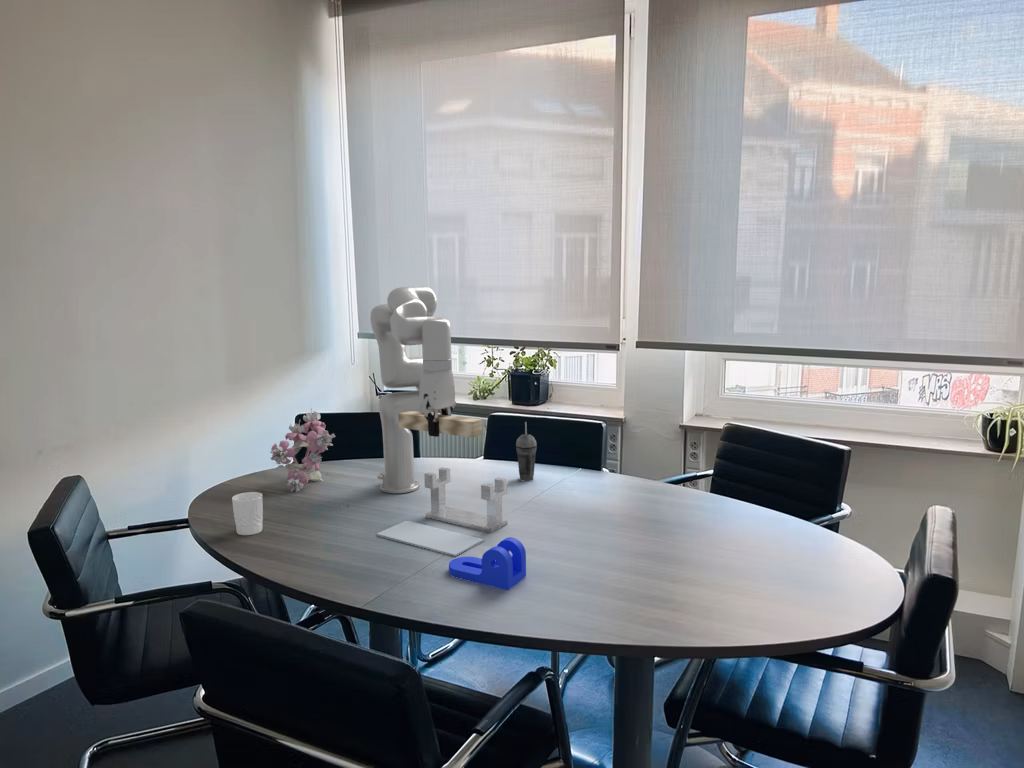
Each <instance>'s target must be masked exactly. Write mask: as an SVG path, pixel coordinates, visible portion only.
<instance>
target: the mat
mask: <svg viewBox="0 0 1024 768" xmlns="http://www.w3.org/2000/svg"><path fill="white" fill-rule="evenodd" d="M376 537H380V538H383V539H388V540H391V541H395V542H398V541H399V543H402V542H403V544H407V545H409V544H410V546H413V545H414V547H417V546H418V548H421V547H422V548H421V549H424V548H426V549H425V550H428V549H430V550H429V551H432V550H433V552H436V551H437V552H436V553H439V552H441V553H440V554H443V553H445V554H444V555H447V554H449V555H448V556H451V555H453V556H452V557H454V556H456V557H458V556H460V555H462V554H463V552H464V551H466V550H467V551H469V550H470V548H471V549H473V548H474V546H475V547H476V546H478V545H481V544H482V543H484V542H485V539H484V538H481V537H476V536H472V535H468V534H463V533H460V532H456V531H451V530H447V529H444V528H440V527H435V526H431V525H425V524H423V523H420V522H419V523H418V522H415V521H410V520H405V521H402V522H400V523H398V524H395V525H393V526H390V527H388V528H386V529H383V530H382V531H380V532H377V533H376ZM483 541H484V542H483ZM481 542H482V543H481ZM472 547H473V548H472ZM468 549H469V550H468ZM467 551H466V552H467ZM461 553H462V554H461ZM464 553H465V552H464ZM459 554H460V555H459ZM457 555H458V556H457Z"/></svg>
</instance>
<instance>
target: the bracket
mask: <svg viewBox="0 0 1024 768" xmlns="http://www.w3.org/2000/svg"><path fill="white" fill-rule="evenodd" d="M526 553H527V552H526V549H525V545H524V544H523V543H522V542H521V541H520V540H519V539H518V538H515V537H512V536H510V537H506V538H504V539H503V540H500V542H499V543H498V544H497V545H495V546H492V547H491V548H489V549H488V550H486V551H485V552H483V554H482V557H481V558H480V557H476V556H459V557H455V558H454V559H451V560H450V561H449V562H448V574H449V573H450V574H449V575H450V576H451V575H452V576H451V577H453V576H454V577H453V578H456V577H457V578H456V579H460V578H462V579H461V580H464V579H465V580H464V581H468V580H469V581H470V582H472V581H473V583H476V582H477V583H478V584H481V585H485V584H486V585H485V586H489V585H490V586H489V587H493V586H494V588H497V587H498V588H499V589H503V590H507V591H510V590H511V589H512V588H513V587H514V586H516V585H517V584H518V583H519V582H521V581H522V580H523V579H524V578H526V577H527V555H526ZM525 576H526V577H525ZM520 580H521V581H520ZM469 581H468V582H469ZM477 583H476V584H477ZM515 584H516V585H515ZM498 588H497V589H498ZM510 588H511V589H510Z"/></svg>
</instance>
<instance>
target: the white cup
mask: <svg viewBox="0 0 1024 768" xmlns="http://www.w3.org/2000/svg"><path fill="white" fill-rule="evenodd" d="M263 501H264V500H263V493H261V492H259V491H258V492H257V491H249V492H242V493H237V494H235V495H233V496H232V497H231V503H232V509H233V517H234V522H235V528H236V533H237V534H238V535H239V536H252V535H257V534H259V533H261V532H262V531H263V529H264V528H263V520H264V518H263V517H264V512H263V511H264V509H263V508H264V507H263V506H264V505H263Z"/></svg>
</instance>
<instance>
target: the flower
mask: <svg viewBox="0 0 1024 768" xmlns="http://www.w3.org/2000/svg"><path fill="white" fill-rule="evenodd" d="M312 410H313V407H310V412H306V413H305V414H304V415H303V416H302V419H303V421H304V422H305V423H304V424H300V423H301V419H299V421H298V423H294V425H292V424H291V423H290V424H289V427H288V430H289V431H291V432H287V433H286V434H285V435H284V438H285V440H284V439H283V440H280V441H279V444H278V445H277V443H274V444H273V445H272V447H271V448H270V449H271V451H270V454H272V455H271V456H272V457H270V460H271V461H275V464H277V465H284V466H285V468H287V470H288V473H287V477H286V480H287V482H288V483H287V485H286V487H288V490H289V489H290V490H289V491H290V492H293V491H294V490H295V493H297V492H300V490H302V489H303V487H304V486H305V485H307V484H308V483H309V481H310V480H311V481H319V480H320V481H322V482H324V479H323V478H322V473H321V472H320V471H319V470H320V469H321V467H320V466H321V462H322V458H323V456H322V453H324V452H325V451H328V450H329V449H328V447H332V446H334V444H333V443H332V442H333V441H332V440H333V438H336V435H335V433H331V434H330V433H329V431H328V430H325V429H326V424H325V422H322V421H320V420H321V414H320V412H317V411H314V410H313V411H312ZM309 430H310V431H309ZM303 433H304V434H307V435H304V434H303ZM288 440H289V441H290V442H291V441H293V445H292V446H291V447H289V446H290V442H289V441H288ZM302 448H306V451H305V456H304V457H303V458H302V459H301V463H302V467H301V465H300V464H299V461H298V460H297V458H296V457H295V455H297V454H298V453H299V452H300V450H301V449H302ZM289 458H292V460H293V462H292V460H291V459H289ZM313 468H314V471H311V469H313ZM309 471H311V472H309ZM308 472H309V473H308Z"/></svg>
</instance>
